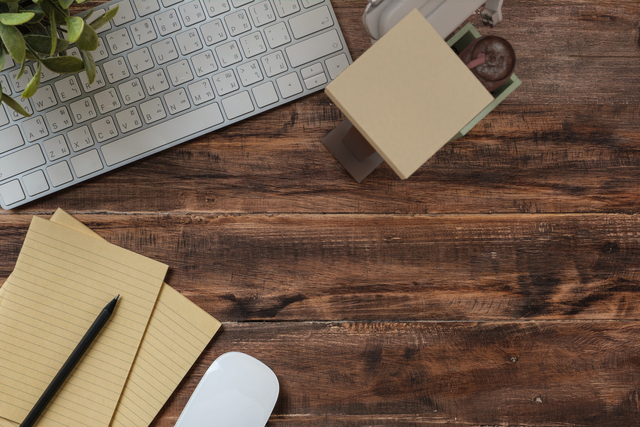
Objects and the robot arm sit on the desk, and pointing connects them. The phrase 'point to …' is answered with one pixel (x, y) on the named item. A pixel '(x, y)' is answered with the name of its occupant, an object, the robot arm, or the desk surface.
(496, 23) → the robot arm
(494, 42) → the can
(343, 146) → the post
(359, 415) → the desk surface
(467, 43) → the holder
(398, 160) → the beige square panel
